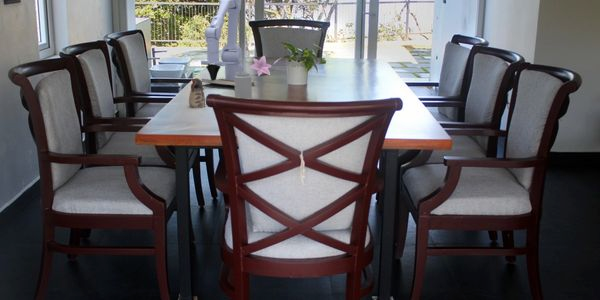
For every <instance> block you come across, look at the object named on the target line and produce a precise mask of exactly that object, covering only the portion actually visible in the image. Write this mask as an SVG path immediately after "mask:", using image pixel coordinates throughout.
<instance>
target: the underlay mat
mask: <svg viewBox="0 0 600 300" xmlns="http://www.w3.org/2000/svg"><path fill="white" fill-rule="evenodd" d="M202 86H203V88H214V89H220V90H221V89H222V90H230V91H235V86H229V85H219V84H210V83H206V84H202ZM255 86H256V85H255V84H254V85H253V86H252V87H255Z"/></svg>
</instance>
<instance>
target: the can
mask: <svg viewBox="0 0 600 300" xmlns="http://www.w3.org/2000/svg"><path fill="white" fill-rule="evenodd" d="M252 82H253V81H252V76H251V73H250V72H248V71H243V72H239V73H236V75H235V76H234V85H235V90H234V98H235V97H240V98H251V99H253V92H252V88H253V86H252Z"/></svg>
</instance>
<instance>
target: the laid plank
mask: <svg viewBox="0 0 600 300" xmlns="http://www.w3.org/2000/svg"><path fill="white" fill-rule="evenodd" d="M216 80H219V81H229V82H234V80H228V79H225V78H216ZM251 82H252V87H254V86H253V85H255V82H254V81H251Z"/></svg>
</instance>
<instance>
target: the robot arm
mask: <svg viewBox="0 0 600 300" xmlns="http://www.w3.org/2000/svg"><path fill="white" fill-rule="evenodd" d="M218 2H219V3H218V4H219V6H218V10H217V14H216V15H213V17H212V19H211V22H210V24H209V26H208V27H206V29H205V31H204V37H205V43H206V50H207V51H206V53H207V54H206V55H207V57H206V58H207V59H206V60H200V64H201V66H204V65H205V66H206V65H207V66H206V67H205V68H206V69H207V72H208V74H209V77H210V80H217V78H218V77H217V76H218V74H219V71H220V69H221V67H224V73H225V78H224V79H228V80H234V76H235V75H236V73H239V72H244V67H243V66H244V65H243V64H242V61H243V50H242V48H241V46H239V45H238V30H239V29H238V27H239V12H240V11H241V10H242V0H218ZM226 14H228V18H227V20H228V21H227V37H226V38H227V39H226V44H225V45H224V46H223V47H222V50H221V54H220V40H221V37H222V31H223V30H222V28H223V26H224V23H225V16H226ZM220 59H221V61H220Z"/></svg>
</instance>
